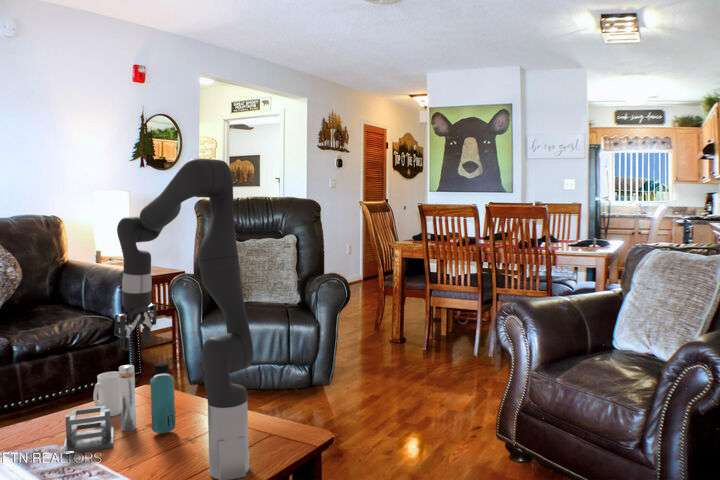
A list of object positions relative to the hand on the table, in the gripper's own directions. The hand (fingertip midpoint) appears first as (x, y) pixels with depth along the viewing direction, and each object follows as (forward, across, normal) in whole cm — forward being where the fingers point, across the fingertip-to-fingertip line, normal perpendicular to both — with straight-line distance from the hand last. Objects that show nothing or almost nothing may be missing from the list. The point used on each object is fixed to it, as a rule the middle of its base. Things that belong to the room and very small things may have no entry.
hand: (135, 345), depth 162 cm
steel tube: (+25, 0, +2) cm, 25 cm away
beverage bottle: (+24, 0, -10) cm, 26 cm away
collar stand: (+25, -11, +6) cm, 28 cm away
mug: (+27, +7, +16) cm, 32 cm away
